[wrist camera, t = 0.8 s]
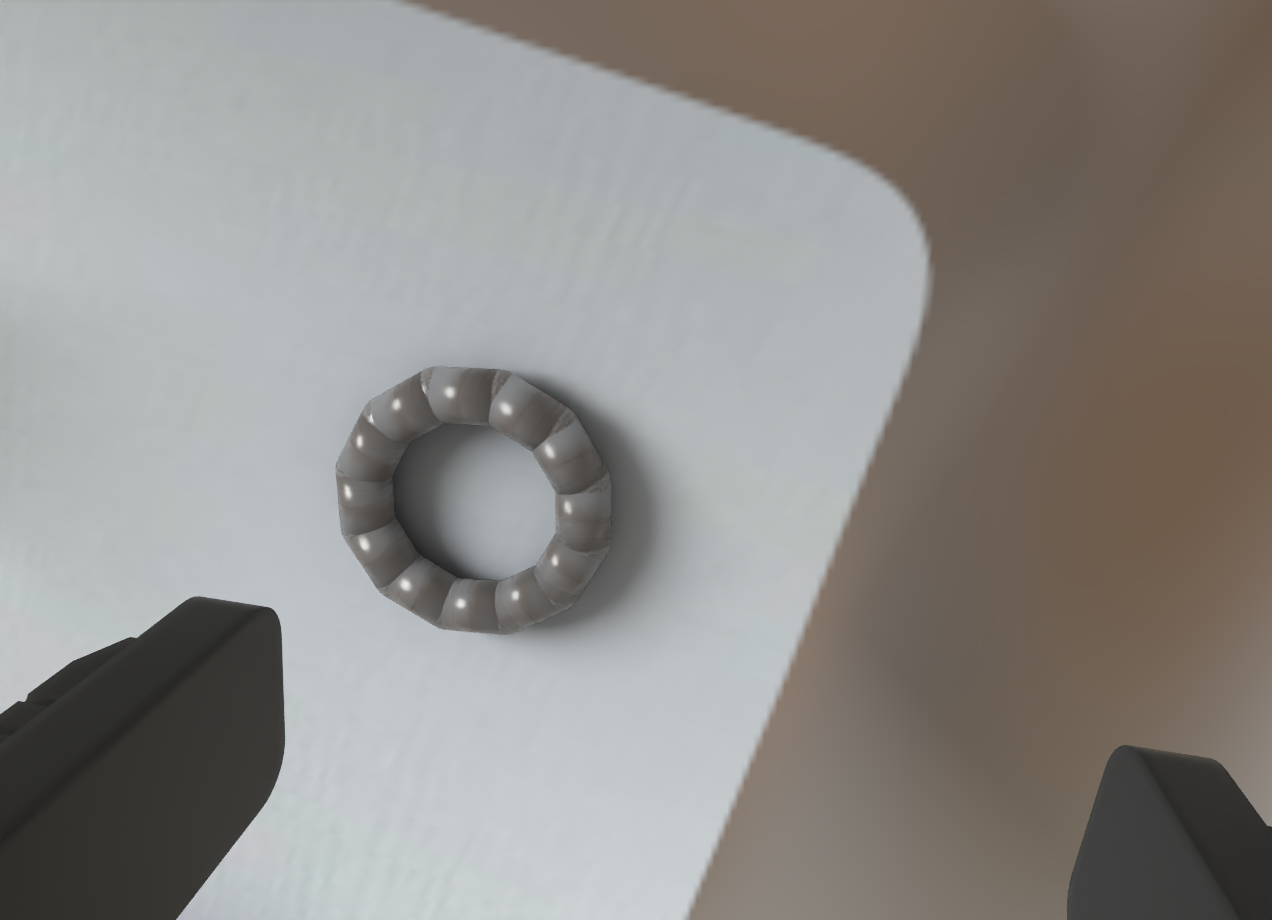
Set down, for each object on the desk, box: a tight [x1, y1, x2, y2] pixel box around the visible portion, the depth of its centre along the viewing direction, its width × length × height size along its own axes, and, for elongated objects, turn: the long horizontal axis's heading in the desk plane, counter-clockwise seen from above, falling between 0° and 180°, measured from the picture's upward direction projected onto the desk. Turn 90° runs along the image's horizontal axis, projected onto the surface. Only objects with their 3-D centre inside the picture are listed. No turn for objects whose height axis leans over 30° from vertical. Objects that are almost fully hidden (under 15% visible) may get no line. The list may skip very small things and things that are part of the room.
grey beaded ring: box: [336, 367, 611, 635], centre depth 24 cm, size 7×7×1 cm
